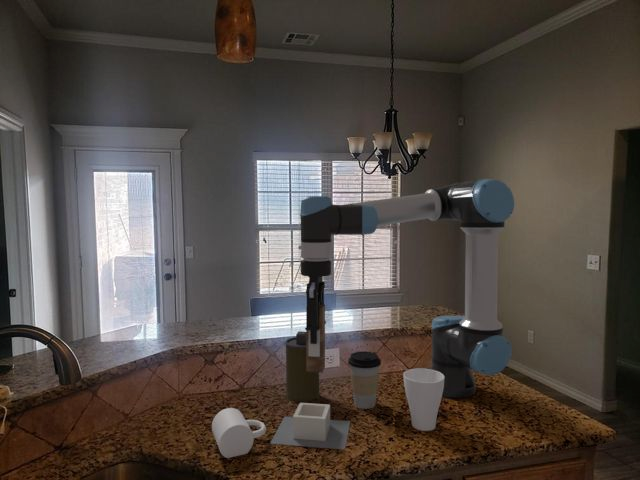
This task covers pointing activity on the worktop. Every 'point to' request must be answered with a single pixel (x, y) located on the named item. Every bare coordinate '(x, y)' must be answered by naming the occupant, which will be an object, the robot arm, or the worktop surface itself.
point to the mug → (235, 432)
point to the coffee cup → (364, 378)
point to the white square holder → (311, 421)
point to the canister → (299, 371)
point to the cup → (423, 396)
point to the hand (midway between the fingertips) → (315, 352)
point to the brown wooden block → (319, 362)
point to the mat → (333, 440)
